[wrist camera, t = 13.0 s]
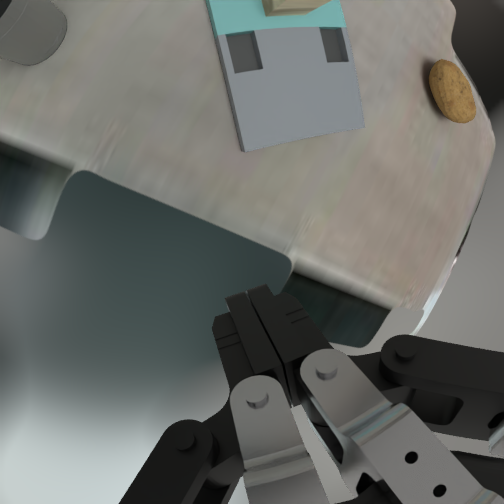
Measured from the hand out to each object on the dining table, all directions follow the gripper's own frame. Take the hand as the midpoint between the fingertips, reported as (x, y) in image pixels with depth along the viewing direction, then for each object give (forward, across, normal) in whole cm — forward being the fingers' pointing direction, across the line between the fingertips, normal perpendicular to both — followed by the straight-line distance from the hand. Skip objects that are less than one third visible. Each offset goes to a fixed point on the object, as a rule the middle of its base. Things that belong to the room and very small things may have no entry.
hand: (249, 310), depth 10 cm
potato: (+33, -51, -6) cm, 61 cm away
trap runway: (+33, -18, -13) cm, 40 cm away
